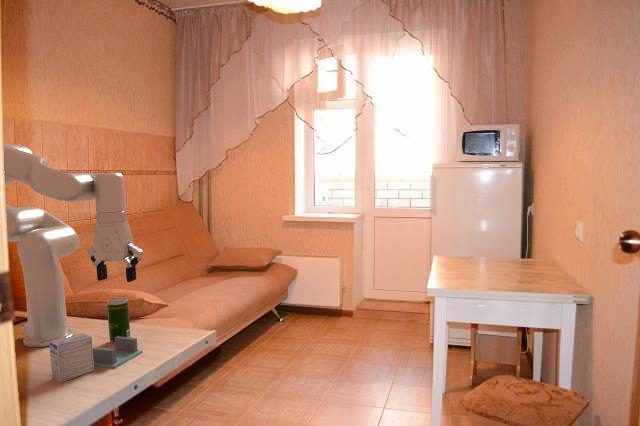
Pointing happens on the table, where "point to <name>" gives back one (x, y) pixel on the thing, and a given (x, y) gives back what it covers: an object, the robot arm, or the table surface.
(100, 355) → the end holder
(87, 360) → the medicine box
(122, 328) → the beer can
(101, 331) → the table surface
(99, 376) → the table surface
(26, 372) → the table surface
